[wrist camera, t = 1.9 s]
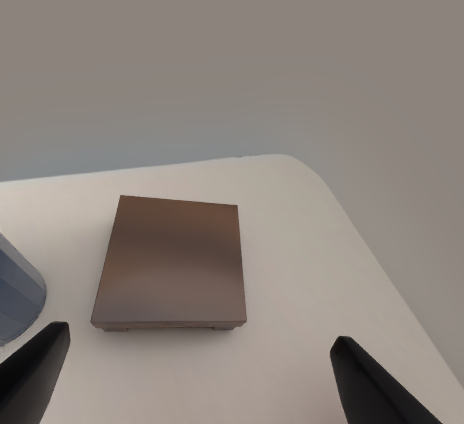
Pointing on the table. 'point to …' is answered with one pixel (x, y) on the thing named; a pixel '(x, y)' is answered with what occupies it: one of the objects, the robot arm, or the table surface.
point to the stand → (172, 267)
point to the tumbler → (18, 292)
